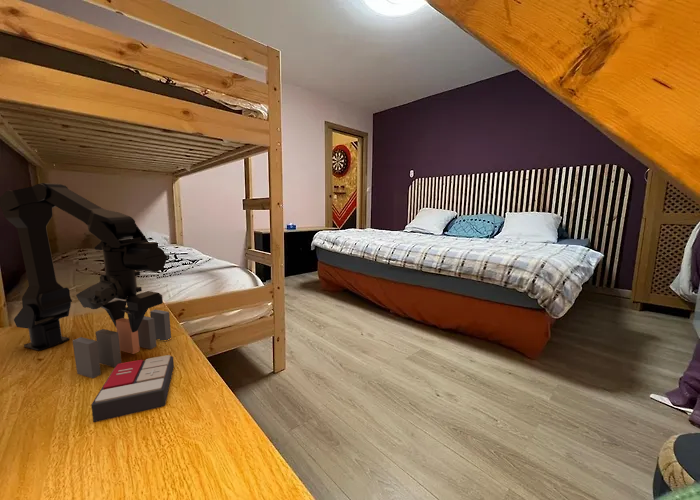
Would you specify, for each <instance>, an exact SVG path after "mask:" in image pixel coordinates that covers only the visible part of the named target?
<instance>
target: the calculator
mask: <svg viewBox="0 0 700 500" xmlns="http://www.w3.org/2000/svg"><path fill="white" fill-rule="evenodd" d="M174 363H175V362H174V356H173V355H170V354H169V355H168V354H167V355H161V356H154V357H149V358H146V359H145V360H143V359H139V360H137V359H136V360H133V361H132V360H131V361H127V362H122V363H119V364H117V366H116V367H113V370H112V371H111V373H110V374H109V376H108V377H107V379H106V381H105V382H104V384H103V385H102V387H101V388H100V390H99V392H98V393H97V395H96V396H95V398H94V399H93V401H92V402H91V413H92V414H91V415H92V422H93V423H98V422H101V421H106V420H110V419H115V418H119V417H123V416H128V415H132V414H133V415H134V414H137V413H142V412H147V411H150V410H153V409H154V410H155V409H158V408H163V407H164V406H165V407H166V405H167V404H166V403H167V400H168V396H169V390H170V389H169V388H170V385H171V381H172V377H173V373H174V369H173V368H175V366H174V365H175V364H174ZM172 372H173V373H172Z"/></svg>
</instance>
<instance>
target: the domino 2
mask: <svg viewBox="0 0 700 500" xmlns="http://www.w3.org/2000/svg"><path fill="white" fill-rule="evenodd" d="M95 337H96V338H95V339H96V340H95V341H97V348H98V355H99V363H100V365H104V366H109V367H111V368H115V367H116V366H117V364H119V363H123V362H122V356H121V355H122V354H121V351H120V344H119V335H118V332H117V331H114V330H109V329H104V328H102V329H99V330H96V331H95Z"/></svg>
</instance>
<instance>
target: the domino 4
mask: <svg viewBox="0 0 700 500" xmlns="http://www.w3.org/2000/svg"><path fill="white" fill-rule="evenodd" d="M138 338H139V348H143V349H149V350H152V349H155V348H157V339H156V335H155V324H154V318H151V316H145V315H144V317H143V319H142V322H141V324H140V326H139V328H138Z"/></svg>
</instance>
